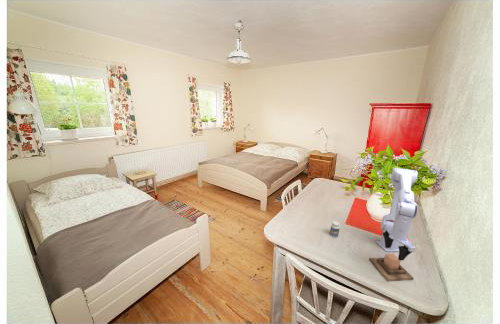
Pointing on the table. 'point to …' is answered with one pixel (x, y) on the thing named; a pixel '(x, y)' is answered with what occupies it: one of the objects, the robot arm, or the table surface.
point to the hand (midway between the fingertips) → (394, 253)
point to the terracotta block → (391, 261)
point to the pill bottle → (335, 229)
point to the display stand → (390, 271)
